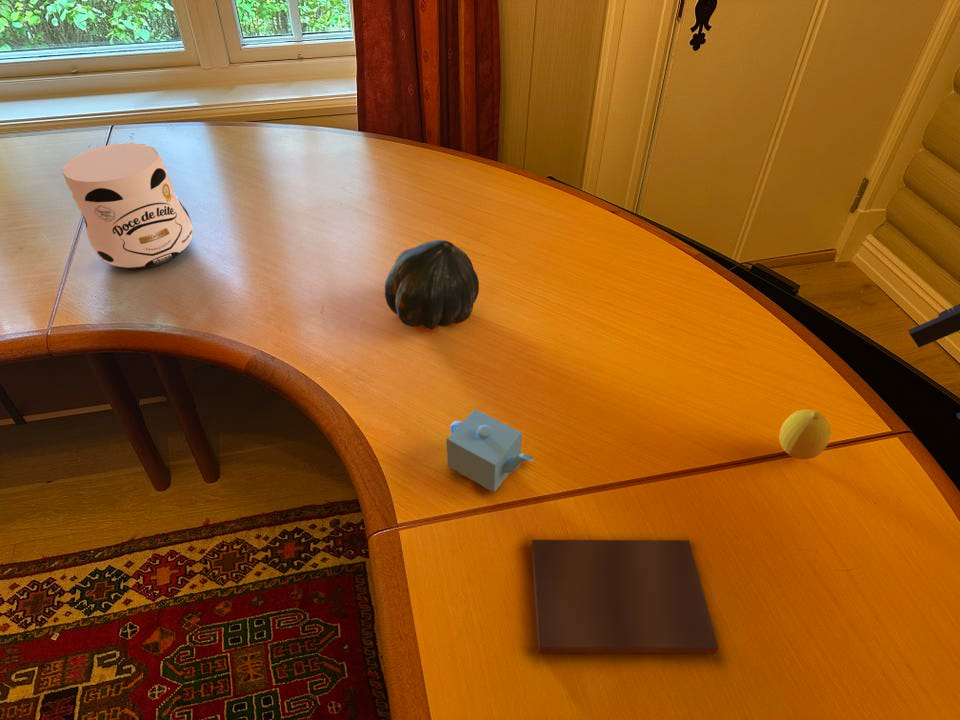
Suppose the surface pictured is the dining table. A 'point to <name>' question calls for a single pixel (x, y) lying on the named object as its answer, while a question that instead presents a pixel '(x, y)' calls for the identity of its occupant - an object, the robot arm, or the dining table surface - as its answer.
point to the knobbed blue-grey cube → (484, 449)
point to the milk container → (128, 205)
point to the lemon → (805, 434)
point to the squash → (432, 285)
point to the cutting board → (619, 597)
